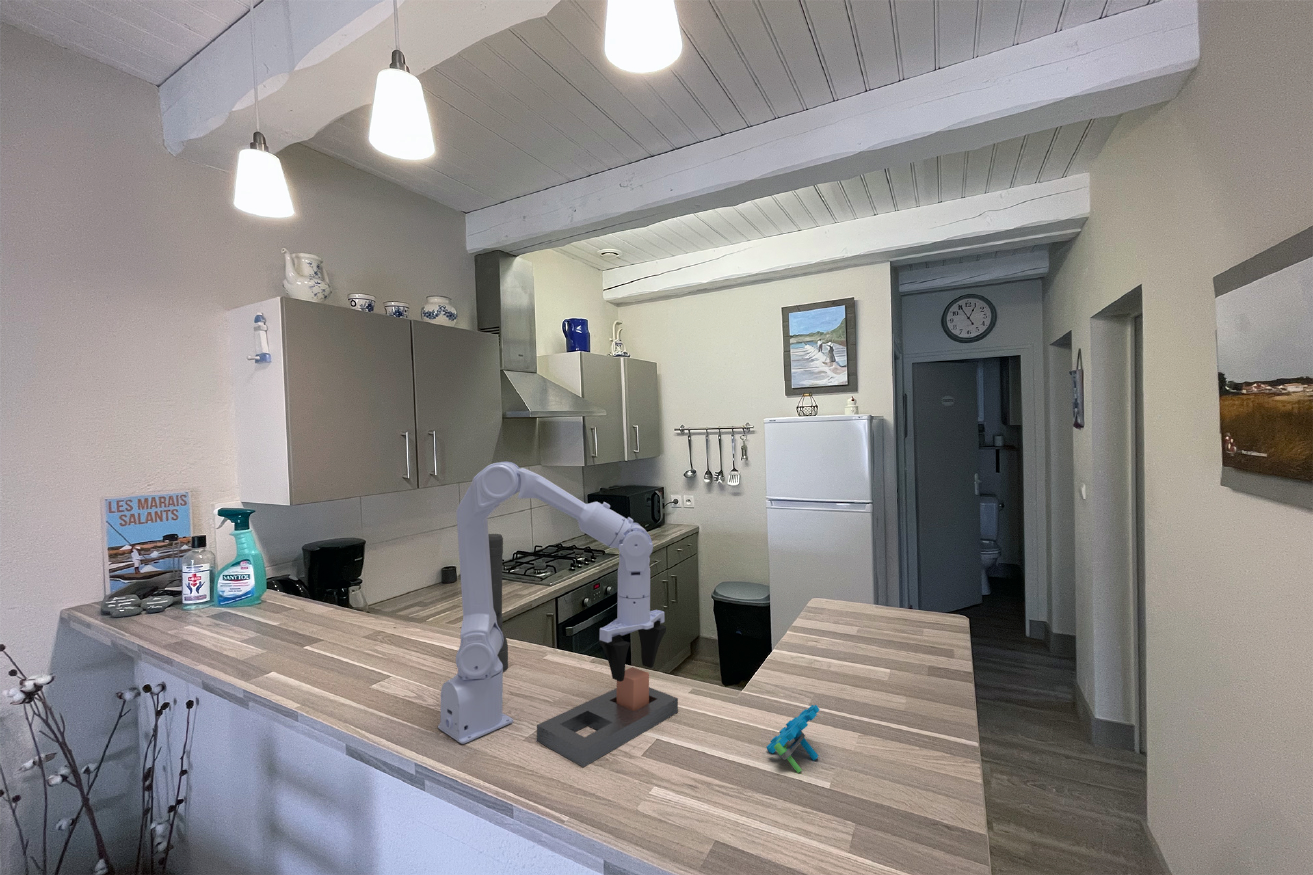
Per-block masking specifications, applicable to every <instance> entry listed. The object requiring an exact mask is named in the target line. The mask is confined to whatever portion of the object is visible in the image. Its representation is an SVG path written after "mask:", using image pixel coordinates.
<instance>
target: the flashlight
mask: <svg viewBox="0 0 1313 875" xmlns="http://www.w3.org/2000/svg"><path fill="white" fill-rule="evenodd" d="M488 536H489V551H490V566H491V580H492V595H493V608H494V611H495V613H496V619H497V625H498V627H499V628H500V630H501V631H502V634H503V645H502V648H501V649H500V651H499V653H498V655H497V656H498V657H499V660H500V661H501V663H502V664H503V673H505V672H506V671H507V670H508V668H509V644H508V640H507V637H506V635H505V634H504V633H503V553H504V537H503V536H502V534H500V533H488Z"/></svg>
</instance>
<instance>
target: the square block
mask: <svg viewBox="0 0 1313 875" xmlns="http://www.w3.org/2000/svg"><path fill="white" fill-rule="evenodd" d="M649 687H650V673H649V672H647V671H645V670H642V669H639V668H637V667H633V666H632V667H629V668H627V669H625V676H624V680H623V681H621V682H620V681H617V680H616V688H617V704H619V705H621V706H624V707H626V708H628V709H630V710H633V711H636V710H637V709H639V708H641V707H643V706H645V705H647V704H649Z"/></svg>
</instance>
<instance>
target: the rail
mask: <svg viewBox="0 0 1313 875" xmlns="http://www.w3.org/2000/svg"><path fill="white" fill-rule="evenodd" d="M678 707H679V698H678V697H676V696H673V695H672V694H671V695H670V694H668V693H665V692H662V691H661V690H658V689H655V688H652V687H650V686H649V704H647V705H645V706H643V707H641V708H639V709H637V710H636V711H633V710H630V709H628V708H626V707H624V706H621V705H619V704H617V687H616V688H614V689H611V690H610V691H608V692H605V693H603V694H601V695H598V696H596V697H595V698H592V699H590V700H588V701H585V702H583V703H581V704H579V705H578V706H575V707H572V708H571V709H568V710H566V711H564V712H562V713H560V714H558V715H555V716H553V717H550V718H549V719H547V720H544V721H543V722H540V723H538V724H536V742H538V743H540V744H541V745H543V746H545V747H547V748H549V749H550V750H552V751H553V752H556V753H557V754H559V755H561V756H562V757H564V758H566V759H568V760H569V761H571V762H573V763H575V764H577V765H578V766H579V767H582V768H585V767H586V766H588V765H590V764H591V763H593V762H595V761H596V760H597V761H598V759H600V758H602V757H604V756H606V755H607V754H609V753H610V752H613V751H614V750H616V749H618V748H619V747H621V746H623V745H625V744H626V743H628V742H630V741H631V740H633V739H635V738H637V737H638V736H639V735H642V734H644V733H645V732H647V731H648V730H650V729H652V728H654V727H656V726H657V725H659V724H660V723H663V722H664V721H666V720H668V719H670V718H671V717H673V716H675V715H676V714H678V713H679V708H678ZM674 714H675V715H674ZM670 716H671V717H670ZM586 727H590V728H591V729H593V730H596V731H594V732H592V733H590V734H588V735H586V736H583V735H581V734H579V733H577V732H578V731H580V730H582V729H585V728H586Z"/></svg>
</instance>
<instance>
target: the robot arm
mask: <svg viewBox="0 0 1313 875" xmlns="http://www.w3.org/2000/svg"><path fill="white" fill-rule="evenodd" d="M518 492H519V493H518ZM517 493H518V496H517V499H519V500H520V499H537V500H539V501H542V502H543V503H545V504H547V505H549V506H550V507H553V508H554V509H556V510H558V511H559V512H562V513H564V514H566V515H567V516H569V517H571V518H572V519H576V521H577V524H578V528H579V530H580V532H582V533H584V534H586V535H588V536H590V537H591V538H593V539H595V540H596V541H598V542H600V543H602V544H603V545H605V546H607V547H608V548H609V549H610V548H611V549H614V548H615V549H618V551H619V553H618V556H619V557H618V562H619V564H618V568H617V618H615V619H613V621H611V622H610V623H608V624H607V625H605V626H603V627H600V628H599V637H598V638H599V639H598V641H599V642H598V643H599V645H600V646H601V649H603V652H604V653H605V656H606V658H607V662H608V665H609V669H610V673H611V677H612V680H615V681H616V682H617V681H620V682H621V681H623V680H624V676H625V670H626V661H627V654H628V652H629V648H630V646H631V643H630V642H629V641H626V640H624V638H622V636H625V635H628V634H630V633H633V632H636V631H637V632H638V637H639V641H640V642H639V643H640V655H641V664H642V666H644V667H647V668H649V669H652V668H654V665H655V661H656V657H657V653H658V650H659V647H660V644H661V642H662V639H663V638H664V636H665V635H666V633H667V626H666V625H663V623H665V611H663V610H659V609H654V610H651V567H650V562H651V558H650V556H651V555H652V552H653V550H654V544H653V540H652V538H651V535H650V534H649V533H648V532H647V530H646V529H645V528H644V527H643V526H641V524H639V523H638V522H634V519H633V518H631V517H630V516H628V517H627V518H626V517H625V516H623V515H621V514H619V513H617V512H616V511H614V510H612V509H610V508H611V505H610V504H609V503H607V502H605V501H603V503H601V502H598V501H593V502H590V503H585V502H584V501H582V500H580V499H579V498H577V497H575V496H574V495H573V494H572V493H569V492H568V491H566V490H564V489H563V488H562V487H560V486H559V485H556V484H555V483H553V482H552V481H550V480H549V479H547V478H545V477H544V476H542V475H541V474H538V473H536V472H534V471H531V470H529V469H527V468H524V467H521V468H520V467H519V466H518V465H517V464H516V463H514V462H512V461H500V462H494V463H491V464H488V465H486V466H485V467H484V468H483V469H482V470H480V471H479V472H477V474H476V475H475V476H473V478H472V481H471V483H470V485H469V487H468V488H467V490H466V492H465V494H464V496H463V497H462V499H461V501H460V503H459V504H458V506H457V508H456V512H455V513H456V514H455V515H456V524H457V525H456V527H457V528H456V529H457V531H456V532H457V542H458V557H459V558H458V559H459V574H460V586H461V587H460V588H461V601H462V603H461V604H462V616H463V617H462V622H461V628H460V636H459V637H460V643H459V644H460V645H459V646H458V647H459V648H458V649H457V652H456V655H455V663H456V664H455V665H456V668H457V673H456V674H455V675H454V676H453V677H452V678H450V679H448V680H446V681H445V682H443V684H442V687H441V690H440V719H439V720H440V723H439V724H438V726H437V728H438V729H439V730H440V731H442V732H443V733H445V735H448V736H450V737H451V738H452V739H454V740H455V741H457V742H458V743H459V744H462V745H464V744H467V743H469V742H471V741H473V740H476V739H478V738H480V737H482V736H485V735H487V734H489V733H492V732H494V731H496V730H498V729H500V728H503V727H505V726H507V725H510V724H512V723H514V719H513V718H512V717H510V716H509V715H507V714H505V713H504V712H503V698H504V697H503V692H504V691H503V690H504V688H503V686H504V684H503V682H504V681H503V680H504V678H503V674H504V672H503V664H502V663H501V661H500V660H499V657H498V656H497V655H498V653H499V651H500V649H501V648H502V645H503V634H504V633H503V630H502V631H501V630H500V628H499V627H498V625H497V619H496V613H495V611H494V608H493V595H492V580H491V566H490V551H489V536H488V534H489V526H488V525H489V522H488V519H489V516H490V515H491V514H492V513H493V512H494V511H495V510H496V509H497V508H498V507H499V506H500V504H502V503H504V502H505V501H508V499H510V498H512V497H513V496H515V495H516V494H517ZM502 633H503V634H502Z"/></svg>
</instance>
